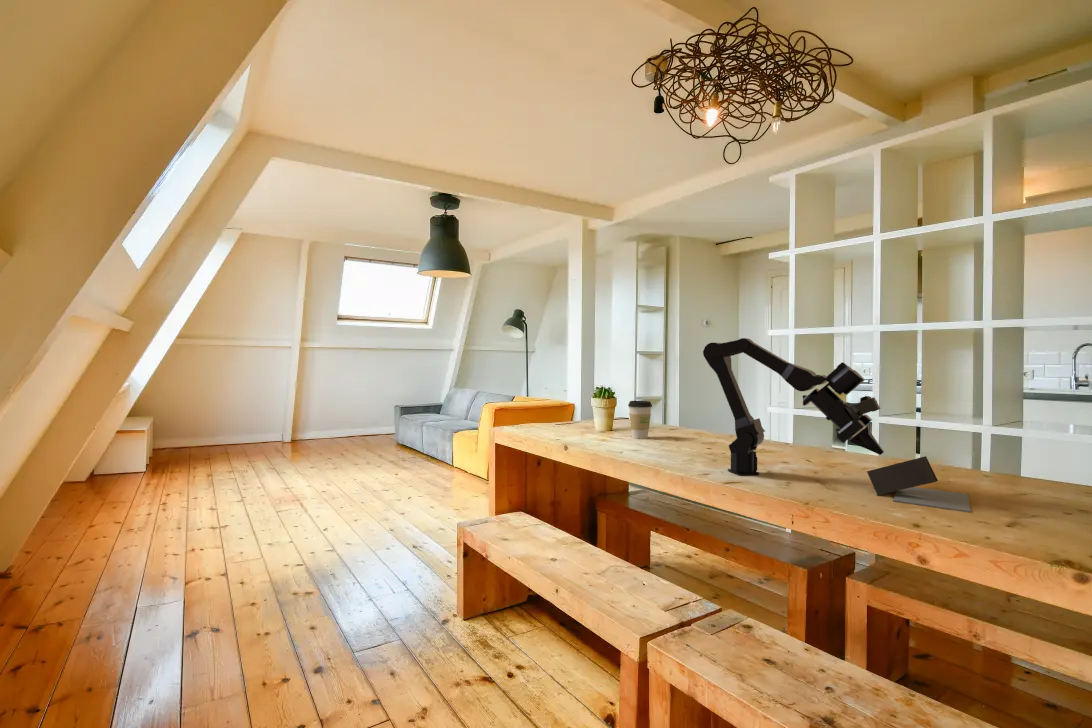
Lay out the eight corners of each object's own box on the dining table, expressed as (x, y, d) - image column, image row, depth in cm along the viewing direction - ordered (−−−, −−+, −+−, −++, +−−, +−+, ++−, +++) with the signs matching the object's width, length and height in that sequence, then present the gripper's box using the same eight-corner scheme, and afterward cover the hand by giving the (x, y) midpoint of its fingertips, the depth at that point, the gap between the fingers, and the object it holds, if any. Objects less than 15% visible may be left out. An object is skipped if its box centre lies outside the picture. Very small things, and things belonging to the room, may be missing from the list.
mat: (893, 501, 123) (893, 500, 123) (899, 486, 137) (899, 485, 137) (970, 512, 114) (970, 511, 114) (967, 495, 129) (967, 493, 129)
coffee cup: (654, 439, 212) (654, 402, 212) (629, 439, 212) (629, 402, 212) (649, 436, 222) (649, 400, 221) (626, 435, 222) (626, 400, 222)
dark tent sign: (882, 467, 135) (932, 454, 126) (893, 490, 133) (944, 479, 124) (866, 471, 130) (917, 458, 121) (876, 495, 128) (929, 484, 119)
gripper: (852, 387, 127) (907, 437, 121) (862, 384, 142) (912, 428, 135) (816, 417, 132) (867, 467, 125) (829, 411, 147) (876, 455, 140)
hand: (882, 453), depth 132 cm, fingers closed
